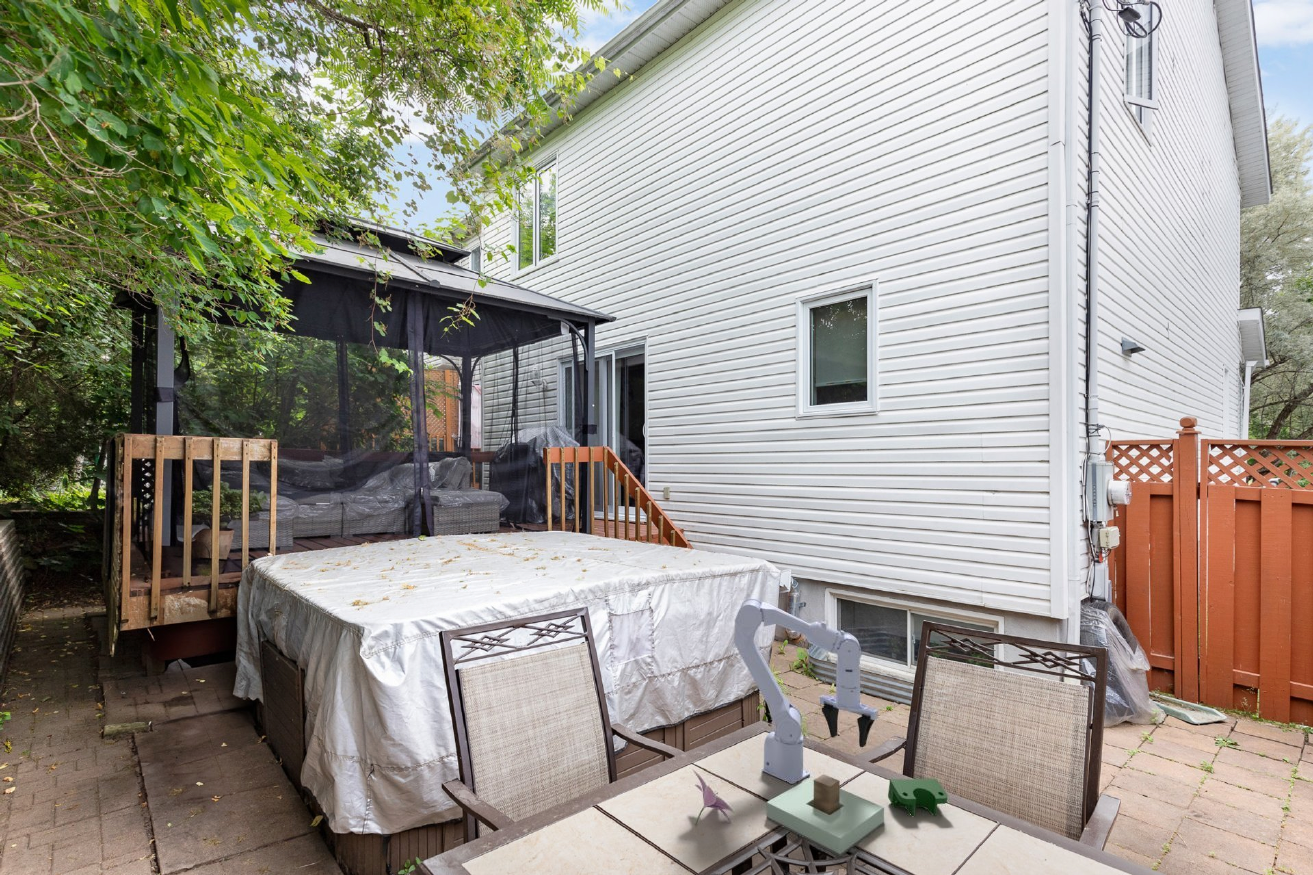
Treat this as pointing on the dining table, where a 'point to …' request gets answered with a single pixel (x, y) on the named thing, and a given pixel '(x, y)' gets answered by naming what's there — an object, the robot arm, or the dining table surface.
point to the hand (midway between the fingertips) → (848, 741)
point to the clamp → (916, 794)
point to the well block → (825, 818)
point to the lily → (711, 799)
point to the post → (826, 794)
